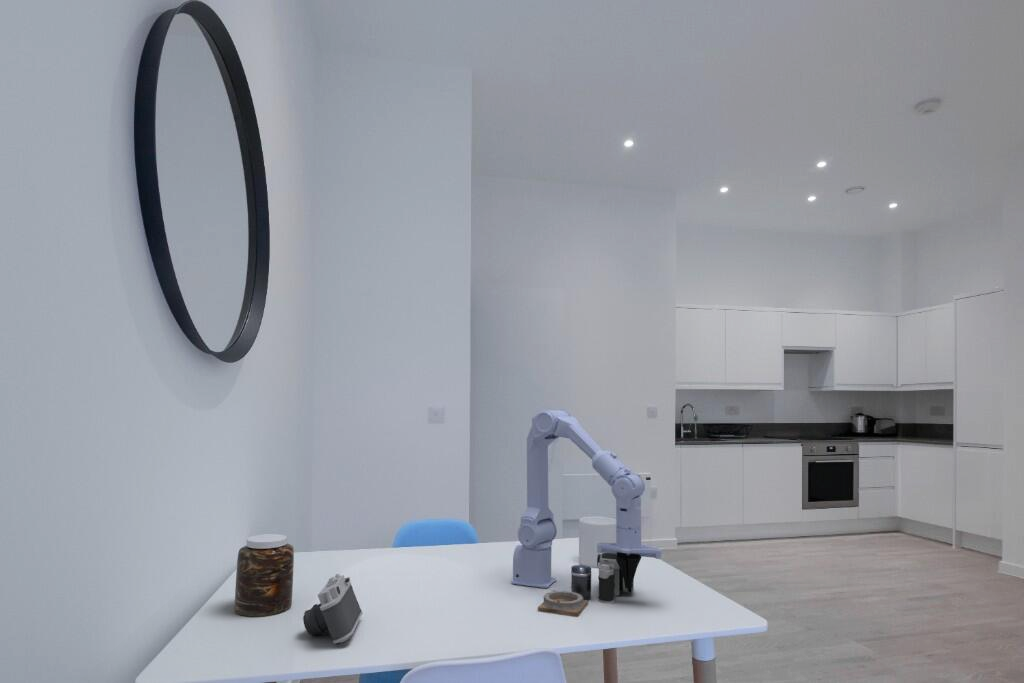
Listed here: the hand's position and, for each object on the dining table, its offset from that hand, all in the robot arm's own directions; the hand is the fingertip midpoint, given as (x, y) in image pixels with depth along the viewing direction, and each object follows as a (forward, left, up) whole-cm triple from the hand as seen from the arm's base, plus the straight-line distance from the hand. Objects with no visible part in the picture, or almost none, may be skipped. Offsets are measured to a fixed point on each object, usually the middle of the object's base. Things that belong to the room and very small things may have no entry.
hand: (629, 587), depth 141 cm
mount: (-13, -9, -3) cm, 16 cm away
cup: (-14, +32, -4) cm, 35 cm away
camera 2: (-4, +5, -4) cm, 8 cm away
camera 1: (-51, -42, -4) cm, 66 cm away
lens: (-11, -1, -3) cm, 12 cm away
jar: (-73, -36, -4) cm, 82 cm away
